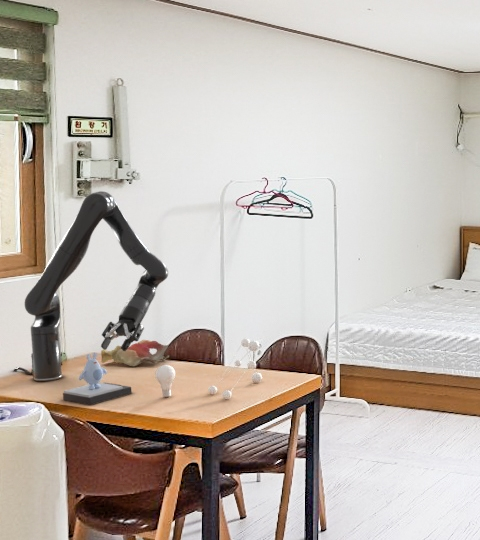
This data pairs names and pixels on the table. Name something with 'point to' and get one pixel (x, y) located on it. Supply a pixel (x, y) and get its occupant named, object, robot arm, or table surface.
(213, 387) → the molecule model
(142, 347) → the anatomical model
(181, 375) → the table surface
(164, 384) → the lightbulb
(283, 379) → the table surface
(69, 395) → the scale
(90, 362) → the toy figure
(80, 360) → the table surface
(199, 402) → the table surface
